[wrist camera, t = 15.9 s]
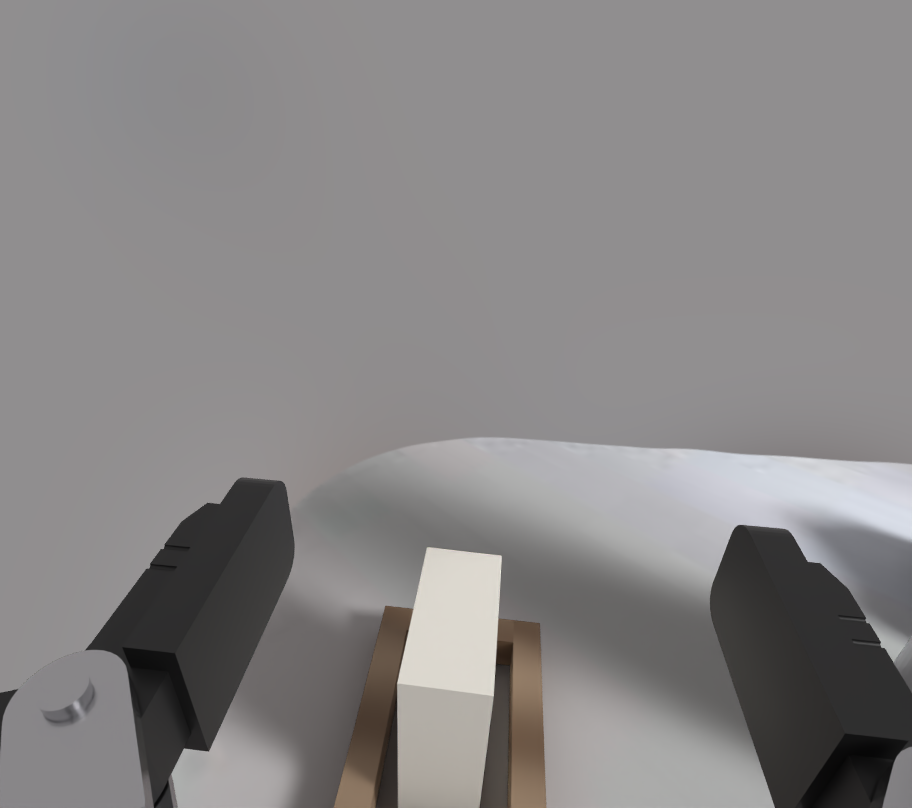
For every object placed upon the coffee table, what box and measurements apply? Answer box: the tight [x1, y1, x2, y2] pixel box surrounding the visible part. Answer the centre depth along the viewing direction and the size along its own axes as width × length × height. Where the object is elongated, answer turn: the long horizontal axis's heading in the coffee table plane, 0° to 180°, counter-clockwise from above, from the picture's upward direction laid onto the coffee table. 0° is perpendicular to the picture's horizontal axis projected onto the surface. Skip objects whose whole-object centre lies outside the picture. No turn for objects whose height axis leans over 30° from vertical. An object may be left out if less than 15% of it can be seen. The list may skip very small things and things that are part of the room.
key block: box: [397, 547, 502, 808], centre depth 26 cm, size 4×7×10 cm, turn 173°
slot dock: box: [334, 606, 546, 808], centre depth 28 cm, size 13×9×2 cm
